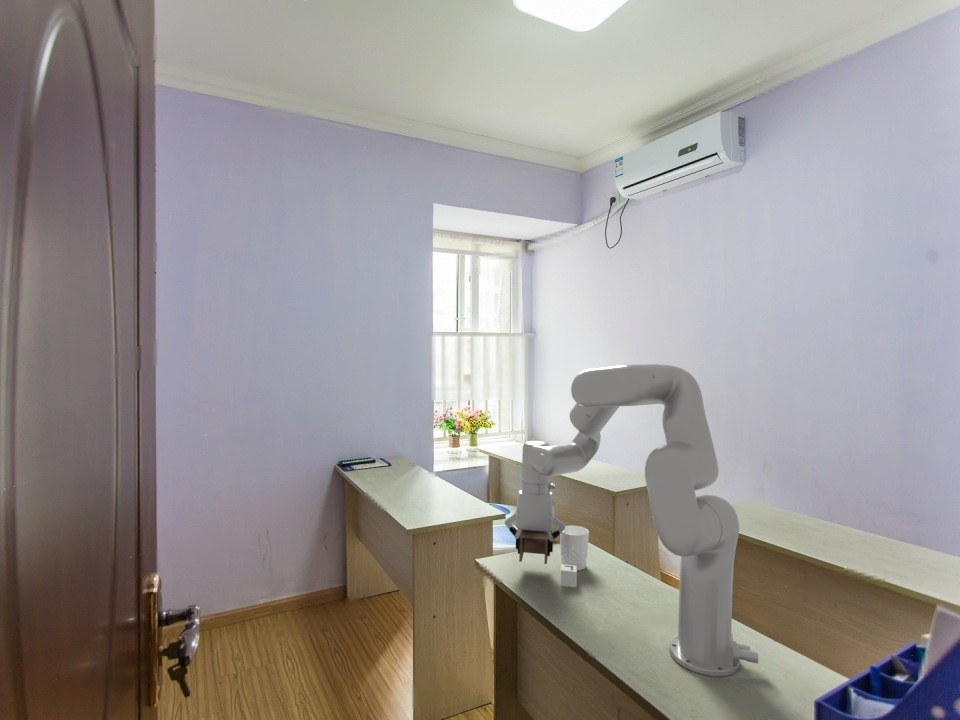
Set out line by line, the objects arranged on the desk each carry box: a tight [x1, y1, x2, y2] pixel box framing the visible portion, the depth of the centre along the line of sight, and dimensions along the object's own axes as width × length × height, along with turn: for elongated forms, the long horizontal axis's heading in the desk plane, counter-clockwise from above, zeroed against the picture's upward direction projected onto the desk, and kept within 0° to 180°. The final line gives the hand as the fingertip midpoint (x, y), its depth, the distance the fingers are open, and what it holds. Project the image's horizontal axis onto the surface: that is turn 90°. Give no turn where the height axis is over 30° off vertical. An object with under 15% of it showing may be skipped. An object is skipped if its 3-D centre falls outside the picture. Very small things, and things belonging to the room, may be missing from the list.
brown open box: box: [518, 530, 549, 565], centre depth 142 cm, size 7×7×7 cm
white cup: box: [559, 525, 590, 571], centre depth 147 cm, size 8×8×10 cm
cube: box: [560, 564, 578, 588], centre depth 136 cm, size 4×4×4 cm
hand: (534, 552), depth 142 cm, fingers closed on brown open box, 7 cm apart
